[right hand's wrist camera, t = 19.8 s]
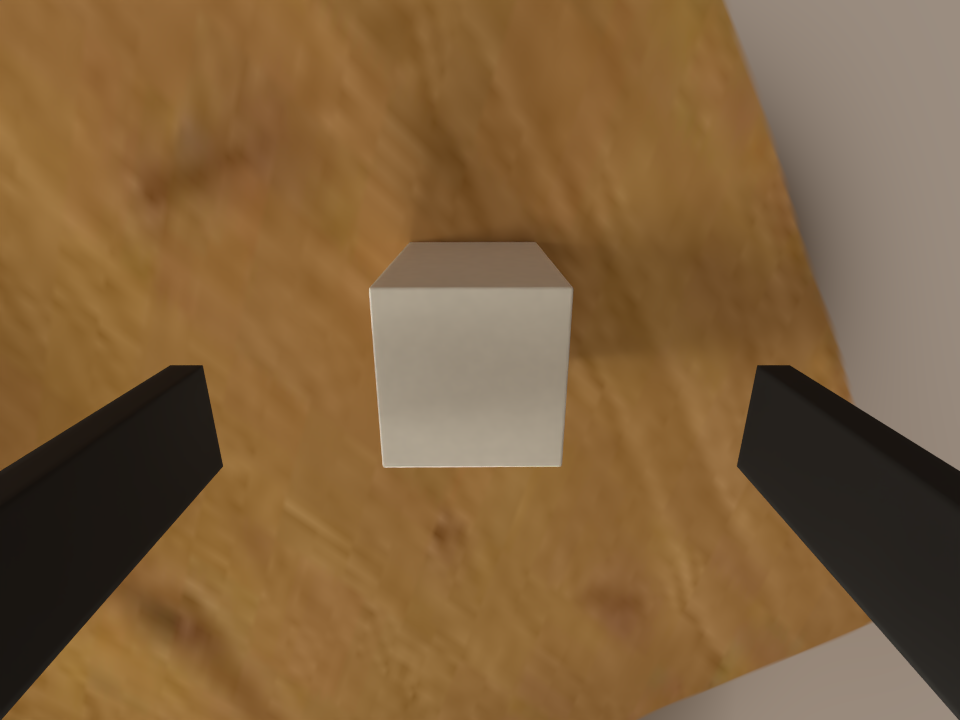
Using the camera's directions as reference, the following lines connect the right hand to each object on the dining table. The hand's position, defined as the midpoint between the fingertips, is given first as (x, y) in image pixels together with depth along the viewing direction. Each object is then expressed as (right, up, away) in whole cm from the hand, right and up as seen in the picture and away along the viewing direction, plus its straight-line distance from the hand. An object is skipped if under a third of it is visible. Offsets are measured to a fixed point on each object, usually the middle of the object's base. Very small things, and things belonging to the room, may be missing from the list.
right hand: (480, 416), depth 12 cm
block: (0, +4, +9) cm, 10 cm away
